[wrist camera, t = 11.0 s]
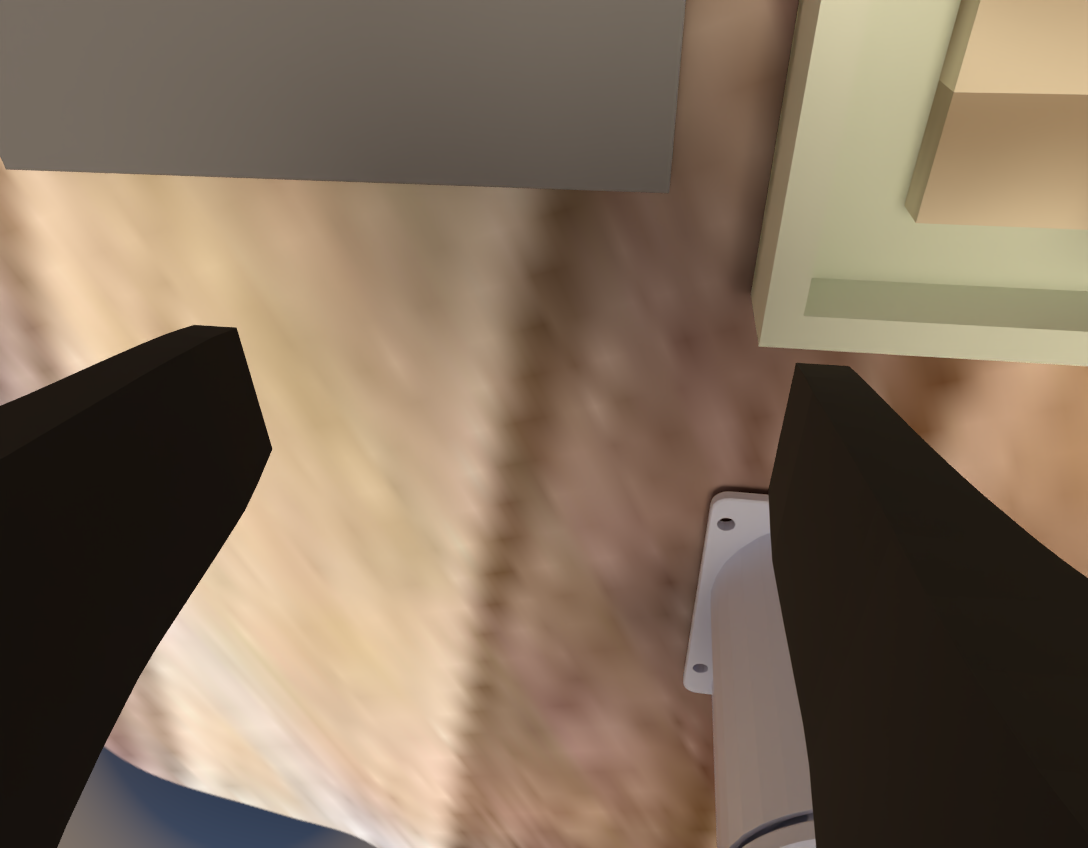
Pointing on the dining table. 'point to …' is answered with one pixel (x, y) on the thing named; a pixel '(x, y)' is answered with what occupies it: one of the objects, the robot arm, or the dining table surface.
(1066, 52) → the tan square frame
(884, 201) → the sage tray
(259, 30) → the stake board
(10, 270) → the dining table surface
